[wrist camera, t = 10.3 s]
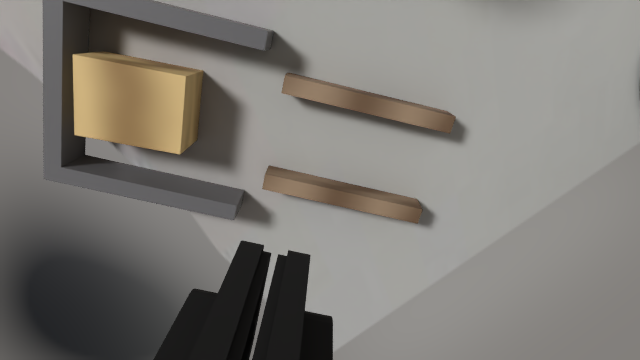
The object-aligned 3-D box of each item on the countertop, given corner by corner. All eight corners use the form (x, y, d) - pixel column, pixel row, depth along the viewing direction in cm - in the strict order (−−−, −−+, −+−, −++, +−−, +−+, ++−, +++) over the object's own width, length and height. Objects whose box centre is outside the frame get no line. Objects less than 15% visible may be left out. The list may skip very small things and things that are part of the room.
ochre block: (203, 70, 29) (185, 76, 25) (197, 139, 31) (180, 154, 27) (105, 51, 29) (72, 54, 25) (105, 122, 30) (74, 135, 27)
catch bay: (273, 30, 28) (267, 31, 25) (241, 203, 32) (233, 220, 30) (72, -20, 27) (42, -26, 24) (68, 165, 31) (43, 179, 29)
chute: (447, 111, 30) (455, 116, 28) (412, 212, 32) (417, 223, 31) (287, 72, 29) (285, 75, 27) (266, 179, 32) (262, 189, 30)
